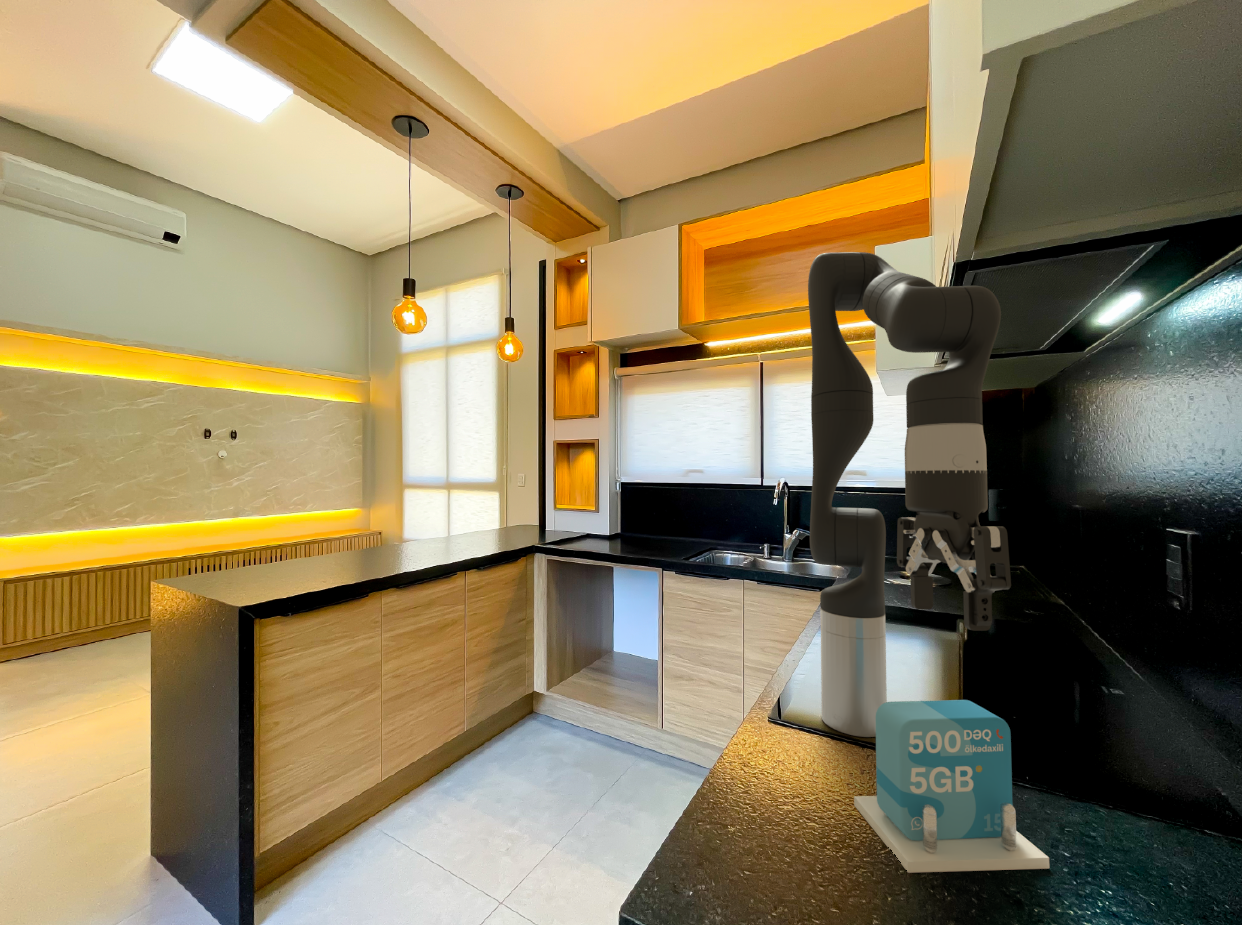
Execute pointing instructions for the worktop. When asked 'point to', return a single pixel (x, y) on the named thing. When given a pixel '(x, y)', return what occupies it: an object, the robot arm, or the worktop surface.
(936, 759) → the data package
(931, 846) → the guide pins
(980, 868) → the tray
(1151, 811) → the worktop surface
